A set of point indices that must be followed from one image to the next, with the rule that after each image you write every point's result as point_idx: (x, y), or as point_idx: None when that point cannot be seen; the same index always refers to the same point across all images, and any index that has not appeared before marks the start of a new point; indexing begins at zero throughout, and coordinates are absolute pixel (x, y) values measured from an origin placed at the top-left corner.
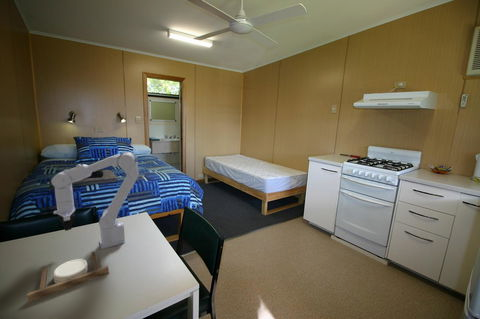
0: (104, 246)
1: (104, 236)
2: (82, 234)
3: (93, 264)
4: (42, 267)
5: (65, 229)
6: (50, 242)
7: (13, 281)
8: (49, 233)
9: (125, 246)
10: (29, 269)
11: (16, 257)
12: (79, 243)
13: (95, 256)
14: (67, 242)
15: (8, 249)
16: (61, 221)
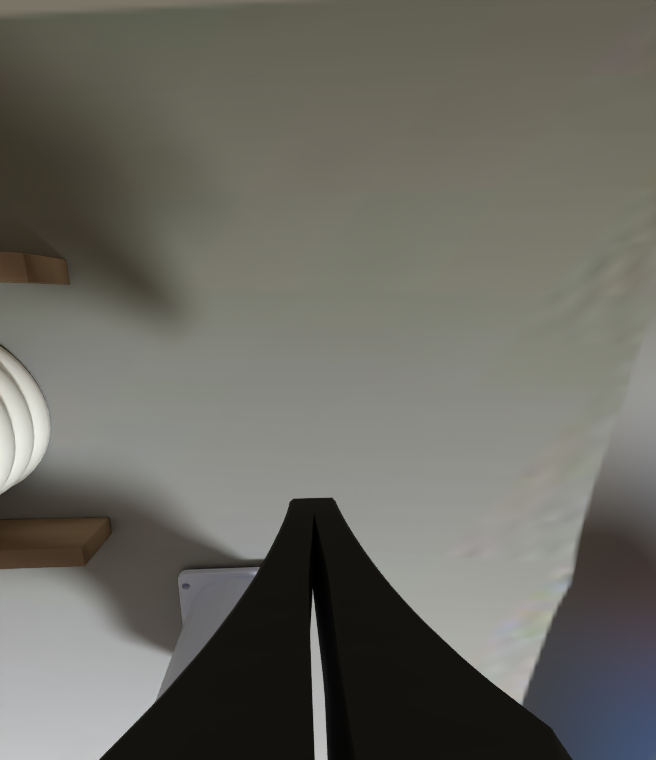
0: (193, 588)
1: (170, 674)
2: (467, 486)
3: (9, 522)
4: (11, 254)
5: (286, 515)
6: (495, 306)
7: (44, 75)
8: (651, 301)
9: (146, 666)
10: (165, 176)
11: (415, 82)
12: (348, 466)
13: (8, 565)
14: (414, 403)
15: (604, 15)
16: (175, 684)
